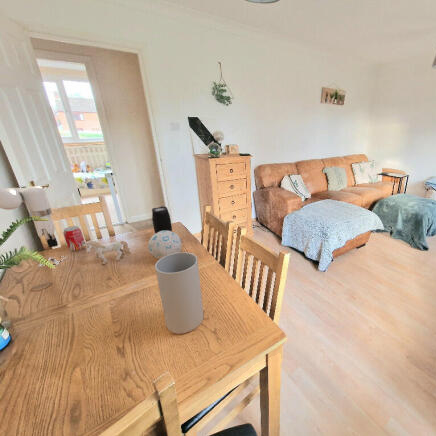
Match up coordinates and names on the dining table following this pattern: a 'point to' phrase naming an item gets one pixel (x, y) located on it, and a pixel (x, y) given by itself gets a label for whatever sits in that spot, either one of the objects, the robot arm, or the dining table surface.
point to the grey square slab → (53, 261)
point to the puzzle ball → (164, 244)
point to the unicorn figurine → (106, 249)
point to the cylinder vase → (180, 291)
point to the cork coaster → (41, 286)
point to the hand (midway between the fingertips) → (53, 245)
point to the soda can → (74, 238)
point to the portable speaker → (161, 219)
